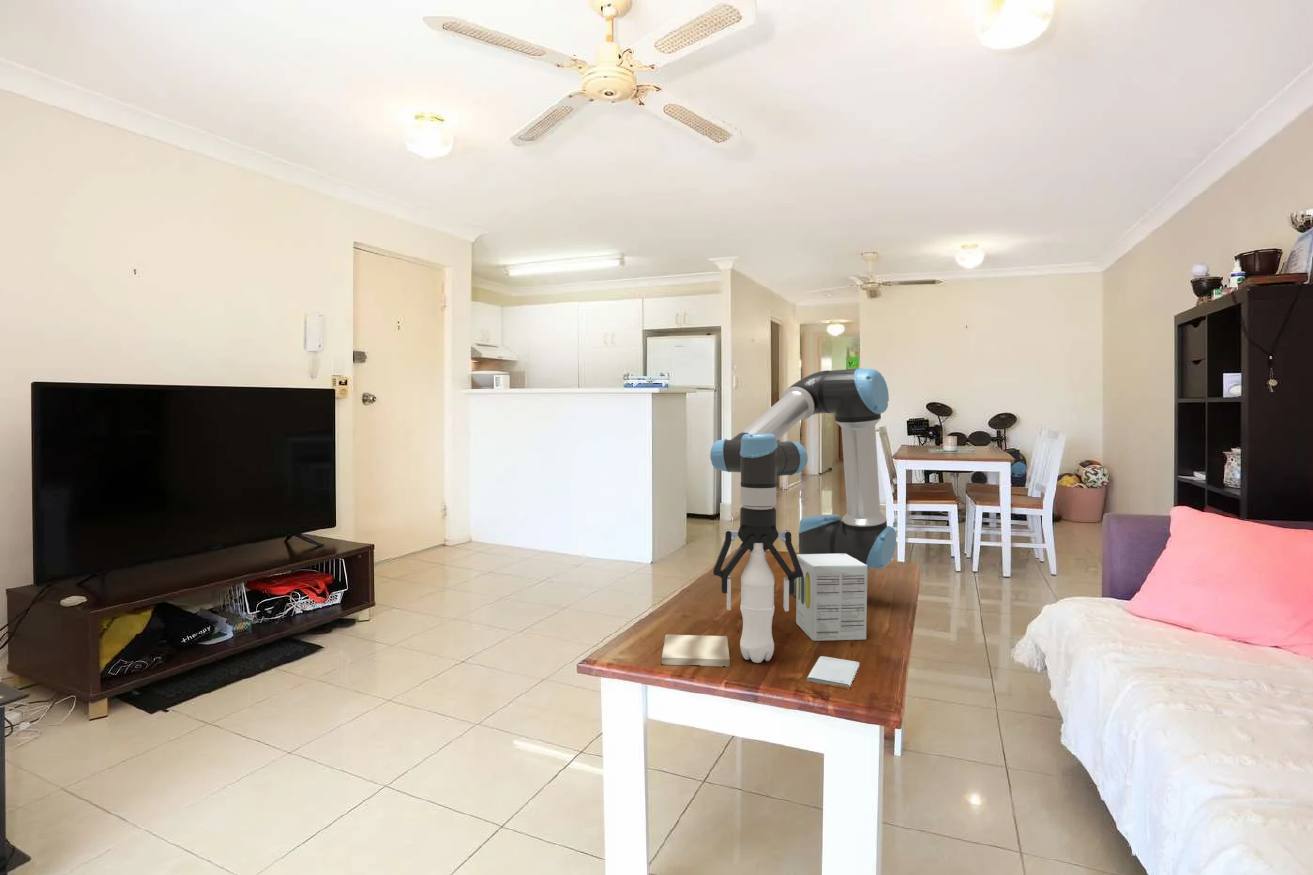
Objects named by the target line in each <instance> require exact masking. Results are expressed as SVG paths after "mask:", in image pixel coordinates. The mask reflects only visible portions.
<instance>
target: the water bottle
mask: <svg viewBox="0 0 1313 875" xmlns="http://www.w3.org/2000/svg"><path fill="white" fill-rule="evenodd" d="M753 548H754V549H753V550H752V551H751V550H748V551H749V552H748V553H749V554H750V555H749V559H748V562H747V563H746V565H745V567H744V569H743V571H742V573H741V576H740V606H739V607H740V608H739V609H740V612H741V616H742V631H741V637H740V640H739V646H740V652H741V655H742V657H743V659H745V660H746V661H748V660H751V661H752V663H756V664H760V663H762V662H763V661H766V662H769V661H770V660H771V659H772V656H773V655H774V651H775V642H774V639H773V633H772V632H773V630H772V626H773V625H772V624H773V618H774V617H773V616H774V613H775V576H774V573H773V571H772V569H771V567H770V566H769V564H768V561H767V558H766V554H767V550H766V551H764V550H763V543H754V547H753Z"/></svg>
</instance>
